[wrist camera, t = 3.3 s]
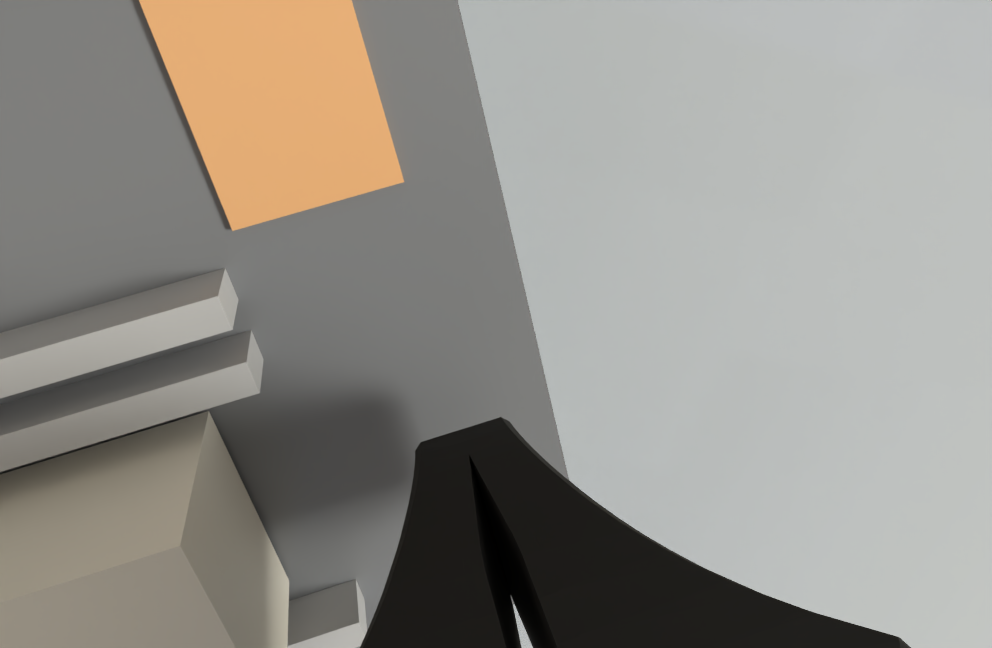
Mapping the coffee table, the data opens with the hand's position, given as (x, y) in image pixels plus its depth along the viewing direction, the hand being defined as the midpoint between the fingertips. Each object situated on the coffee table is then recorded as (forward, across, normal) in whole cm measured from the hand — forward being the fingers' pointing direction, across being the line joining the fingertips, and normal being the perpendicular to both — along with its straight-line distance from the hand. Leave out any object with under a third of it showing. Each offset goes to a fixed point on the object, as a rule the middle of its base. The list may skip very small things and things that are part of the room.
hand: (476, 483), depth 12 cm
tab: (+1, +5, 0) cm, 6 cm away
